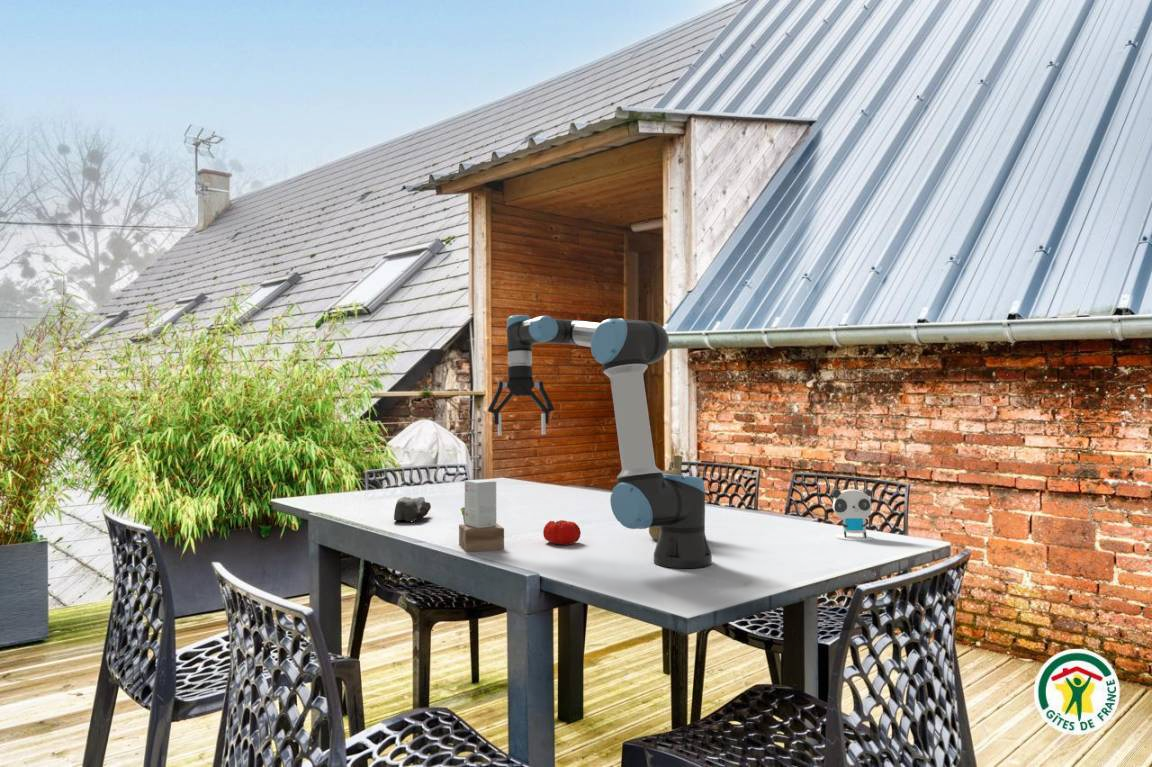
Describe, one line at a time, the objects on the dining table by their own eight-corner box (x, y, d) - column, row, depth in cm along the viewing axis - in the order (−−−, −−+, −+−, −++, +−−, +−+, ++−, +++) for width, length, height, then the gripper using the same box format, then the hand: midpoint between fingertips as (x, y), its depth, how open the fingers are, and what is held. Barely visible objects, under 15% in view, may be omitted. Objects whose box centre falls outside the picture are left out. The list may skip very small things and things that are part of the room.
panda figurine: (834, 540, 247) (834, 490, 248) (829, 534, 258) (829, 486, 259) (876, 541, 245) (876, 491, 246) (868, 535, 257) (868, 487, 257)
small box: (496, 526, 235) (496, 481, 235) (477, 528, 231) (477, 482, 232) (482, 523, 242) (482, 478, 242) (463, 525, 238) (463, 480, 238)
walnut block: (504, 549, 233) (504, 527, 233) (465, 551, 230) (465, 529, 230) (495, 542, 243) (495, 522, 244) (459, 545, 240) (459, 523, 240)
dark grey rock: (425, 524, 279) (425, 501, 279) (391, 524, 279) (391, 501, 279) (432, 516, 298) (432, 494, 298) (401, 516, 297) (401, 494, 297)
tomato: (560, 539, 250) (560, 517, 250) (586, 543, 242) (586, 521, 243) (536, 543, 243) (536, 521, 244) (562, 548, 236) (562, 525, 236)
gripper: (557, 367, 258) (559, 434, 256) (478, 367, 252) (479, 436, 250) (562, 364, 251) (564, 433, 249) (481, 364, 245) (482, 435, 243)
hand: (521, 435), depth 249 cm, fingers open, 13 cm apart
